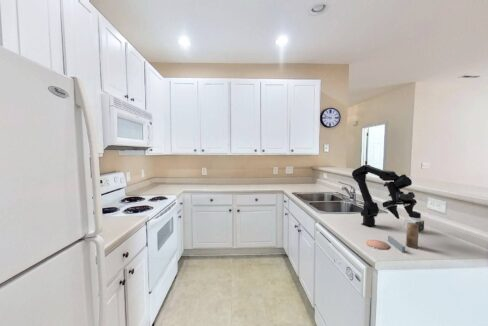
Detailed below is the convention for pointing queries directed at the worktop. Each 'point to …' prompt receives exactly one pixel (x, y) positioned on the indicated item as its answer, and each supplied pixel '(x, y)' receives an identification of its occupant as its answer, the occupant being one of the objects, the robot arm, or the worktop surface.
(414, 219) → the medicine bottle
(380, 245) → the resting pad
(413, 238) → the walnut cylinder
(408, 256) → the worktop surface
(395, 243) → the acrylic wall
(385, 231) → the worktop surface
